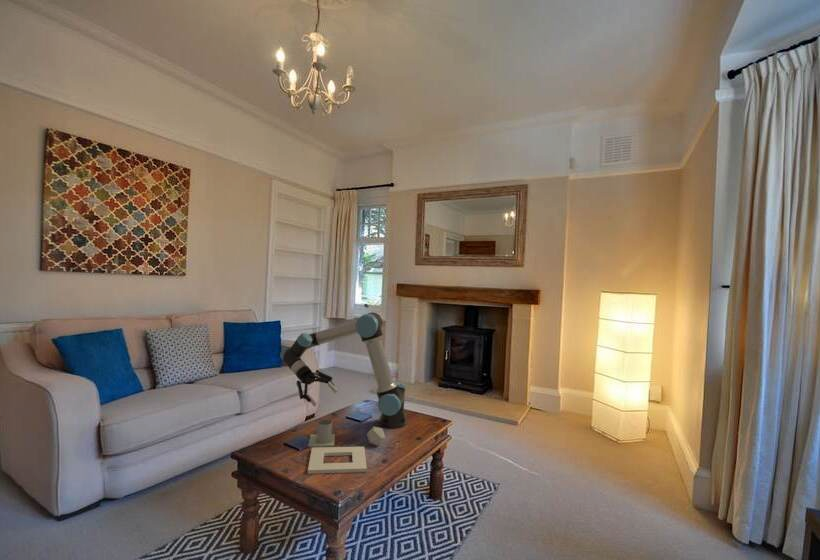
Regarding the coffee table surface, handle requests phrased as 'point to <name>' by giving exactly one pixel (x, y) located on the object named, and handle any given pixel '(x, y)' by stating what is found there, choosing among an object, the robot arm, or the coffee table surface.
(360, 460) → the beige flat frame
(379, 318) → the robot arm
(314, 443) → the coaster
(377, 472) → the coffee table surface
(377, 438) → the die
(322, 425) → the cup
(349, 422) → the coffee table surface
